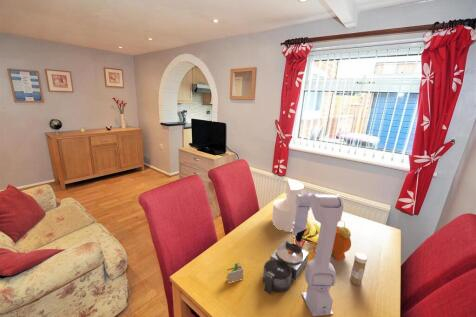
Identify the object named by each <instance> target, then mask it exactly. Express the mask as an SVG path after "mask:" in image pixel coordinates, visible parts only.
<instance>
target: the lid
mask: <svg viewBox="0 0 476 317" xmlns="http://www.w3.org/2000/svg"><path fill="white" fill-rule="evenodd" d="M285 242H286V244H282V243H281V244H279V245H278V246H277V247H276V249H277V255H278V257H279V258H280V259H281V260H283V261H285V262H287V263H291V264H296V263H300V262H301V261H302V260H303V258H304V254H303V251H302V250H303V246H299V245H298V244H295V243H293V242H291V241H289V240H286V241H285Z"/></svg>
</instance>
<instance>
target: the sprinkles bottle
mask: <svg viewBox="0 0 476 317" xmlns="http://www.w3.org/2000/svg"><path fill="white" fill-rule="evenodd" d="M367 261H368V257H367V256H366V254H364V253H362V252H356V253H355V254H354V259H353V266H352V268H351V275H350V277H349V281H350V282H351V283H352V284H354V285H356V286H361V285H362V280H363V277H364V274H365V270H366V266H367V265H366V264H367Z"/></svg>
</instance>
